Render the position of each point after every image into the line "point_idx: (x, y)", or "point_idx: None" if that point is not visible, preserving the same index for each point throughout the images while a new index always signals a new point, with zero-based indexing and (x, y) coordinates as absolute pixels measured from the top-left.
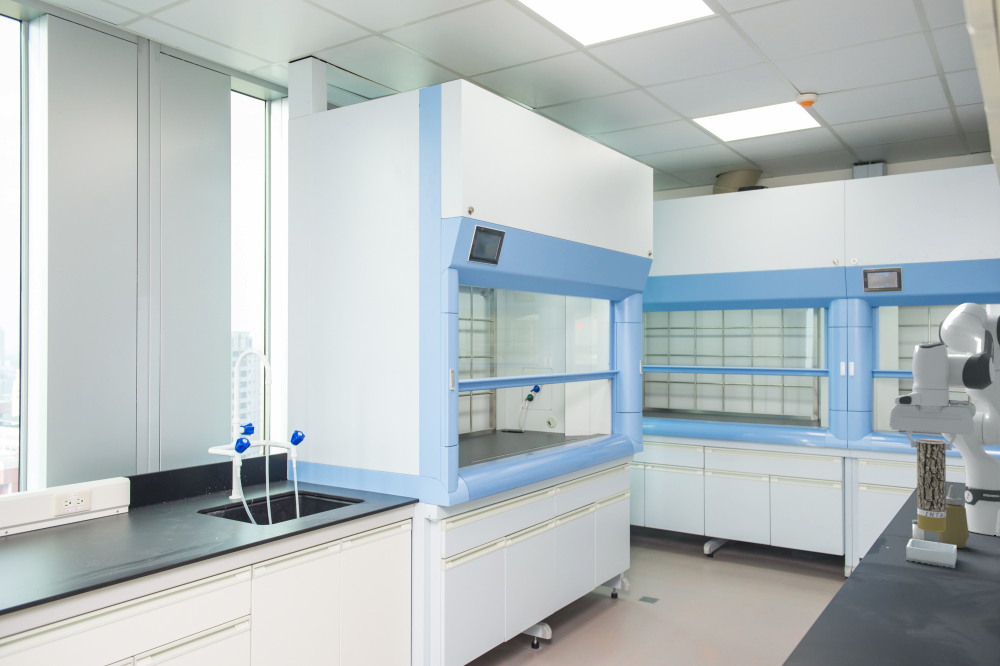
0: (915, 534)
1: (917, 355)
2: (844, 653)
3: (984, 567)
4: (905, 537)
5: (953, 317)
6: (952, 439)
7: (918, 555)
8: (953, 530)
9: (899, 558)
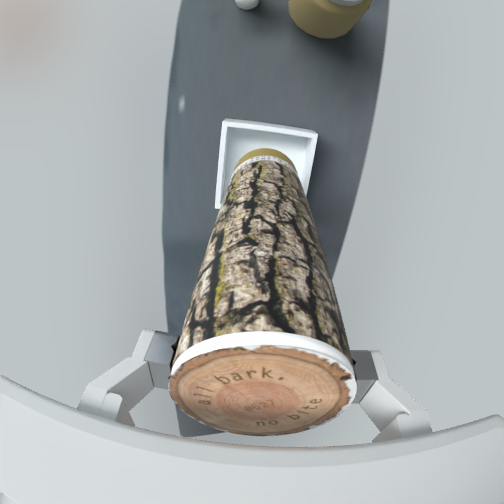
0: (239, 4)
1: None
2: (199, 433)
3: (351, 172)
4: None
5: None
6: (381, 428)
7: None
8: (325, 34)
9: (207, 186)
